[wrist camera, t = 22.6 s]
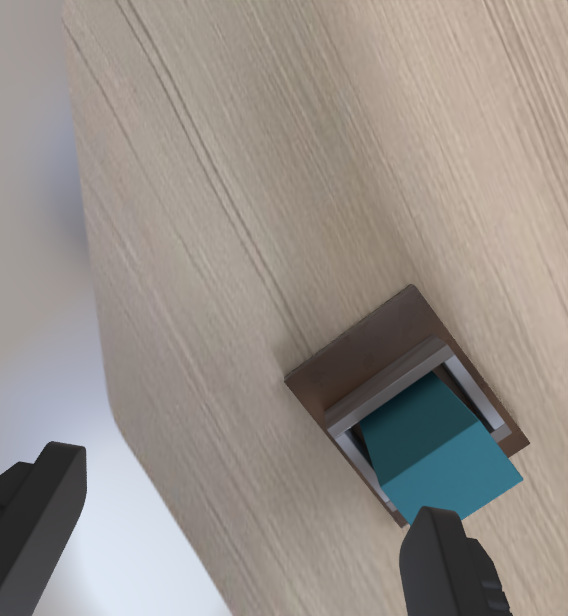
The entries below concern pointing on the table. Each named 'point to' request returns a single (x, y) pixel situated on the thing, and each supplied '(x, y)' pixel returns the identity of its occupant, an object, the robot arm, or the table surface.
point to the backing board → (392, 380)
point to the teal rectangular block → (435, 452)
